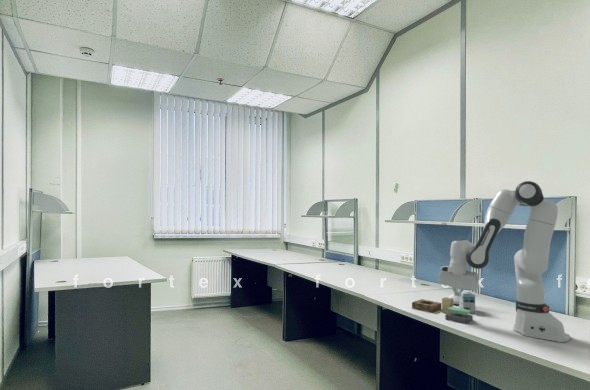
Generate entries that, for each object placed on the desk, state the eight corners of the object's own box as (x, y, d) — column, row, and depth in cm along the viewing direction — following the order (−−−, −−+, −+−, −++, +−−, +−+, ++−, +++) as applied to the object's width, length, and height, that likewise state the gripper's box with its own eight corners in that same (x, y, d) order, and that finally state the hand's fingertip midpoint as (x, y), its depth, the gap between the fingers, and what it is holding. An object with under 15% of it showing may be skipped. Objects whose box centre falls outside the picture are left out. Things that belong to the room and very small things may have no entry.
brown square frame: (441, 309, 217) (441, 303, 217) (431, 312, 209) (431, 306, 209) (422, 305, 226) (422, 299, 226) (412, 308, 217) (412, 302, 218)
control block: (472, 320, 196) (472, 315, 196) (464, 323, 189) (464, 318, 189) (453, 316, 203) (453, 311, 203) (445, 319, 196) (445, 314, 196)
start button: (471, 316, 194) (471, 310, 194) (466, 318, 190) (466, 312, 190) (452, 312, 202) (452, 306, 202) (447, 314, 197) (447, 308, 198)
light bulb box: (475, 313, 209) (475, 294, 210) (462, 312, 211) (463, 293, 211) (470, 308, 220) (470, 290, 220) (458, 307, 221) (458, 289, 222)
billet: (453, 313, 209) (453, 298, 209) (449, 314, 206) (450, 299, 206) (445, 311, 212) (445, 297, 213) (442, 312, 209) (442, 298, 210)
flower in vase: (459, 306, 223) (459, 264, 224) (442, 302, 232) (442, 262, 233) (471, 304, 231) (471, 263, 232) (453, 300, 240) (454, 261, 241)
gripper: (481, 272, 192) (480, 299, 191) (442, 266, 207) (441, 291, 206) (476, 273, 187) (475, 301, 187) (437, 267, 202) (436, 292, 202)
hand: (457, 295), depth 197 cm, fingers closed
